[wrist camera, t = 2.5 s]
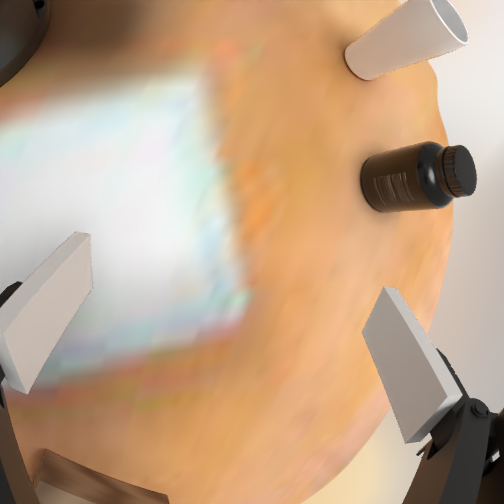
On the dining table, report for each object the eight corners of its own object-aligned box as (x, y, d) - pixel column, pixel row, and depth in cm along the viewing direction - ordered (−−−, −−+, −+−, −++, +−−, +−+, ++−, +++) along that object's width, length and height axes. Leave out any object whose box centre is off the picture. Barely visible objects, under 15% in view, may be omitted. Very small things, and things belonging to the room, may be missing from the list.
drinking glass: (331, 37, 31) (418, -22, 18) (370, 46, 34) (454, 1, 20) (345, 83, 32) (445, 33, 18) (384, 89, 35) (477, 52, 21)
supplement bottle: (398, 216, 36) (482, 214, 25) (357, 207, 33) (448, 200, 22) (399, 162, 36) (479, 147, 25) (359, 147, 33) (445, 123, 22)
